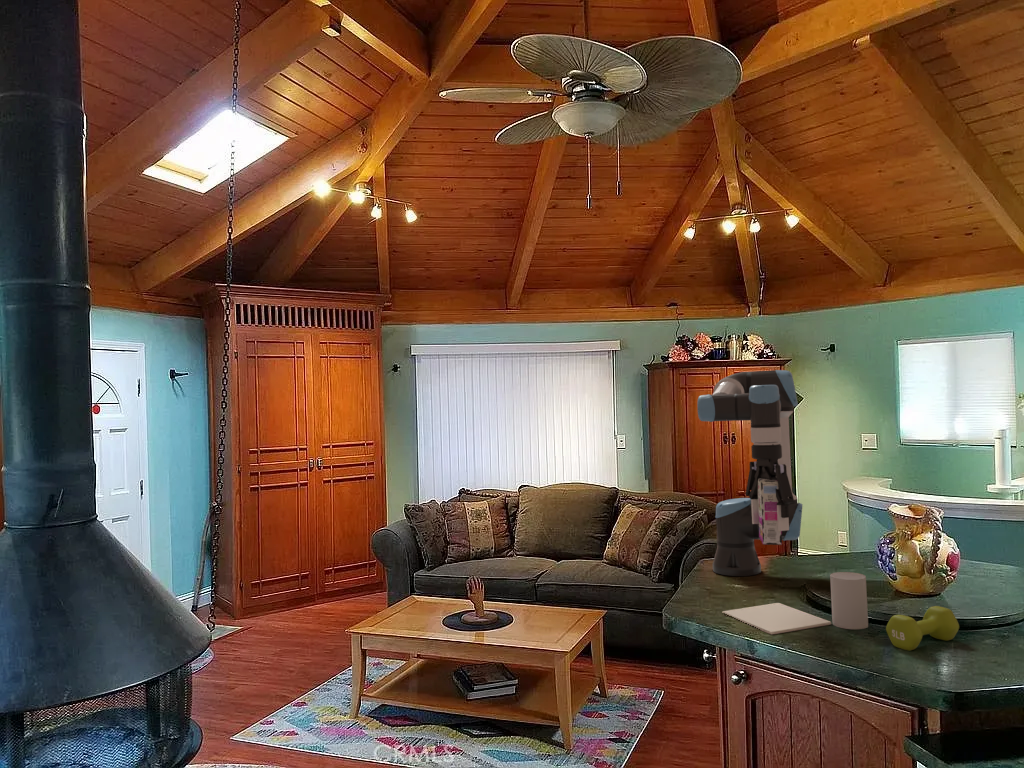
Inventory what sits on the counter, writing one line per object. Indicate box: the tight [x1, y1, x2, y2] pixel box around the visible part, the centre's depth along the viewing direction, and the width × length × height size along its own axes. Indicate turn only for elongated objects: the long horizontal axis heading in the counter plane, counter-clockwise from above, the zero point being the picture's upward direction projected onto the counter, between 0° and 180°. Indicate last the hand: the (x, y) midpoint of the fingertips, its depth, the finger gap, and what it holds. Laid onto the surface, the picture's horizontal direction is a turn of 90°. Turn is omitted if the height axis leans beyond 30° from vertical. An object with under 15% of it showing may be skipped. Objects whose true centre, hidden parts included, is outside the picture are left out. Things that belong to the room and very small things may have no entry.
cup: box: [829, 571, 869, 630], centre depth 191 cm, size 8×8×12 cm
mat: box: [721, 602, 832, 635], centre depth 198 cm, size 18×20×1 cm
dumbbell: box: [885, 605, 960, 651], centre depth 175 cm, size 16×8×7 cm, turn 115°
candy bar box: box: [758, 478, 783, 546], centre depth 201 cm, size 11×5×16 cm, turn 167°
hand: (770, 527), depth 201 cm, fingers closed on candy bar box, 12 cm apart
